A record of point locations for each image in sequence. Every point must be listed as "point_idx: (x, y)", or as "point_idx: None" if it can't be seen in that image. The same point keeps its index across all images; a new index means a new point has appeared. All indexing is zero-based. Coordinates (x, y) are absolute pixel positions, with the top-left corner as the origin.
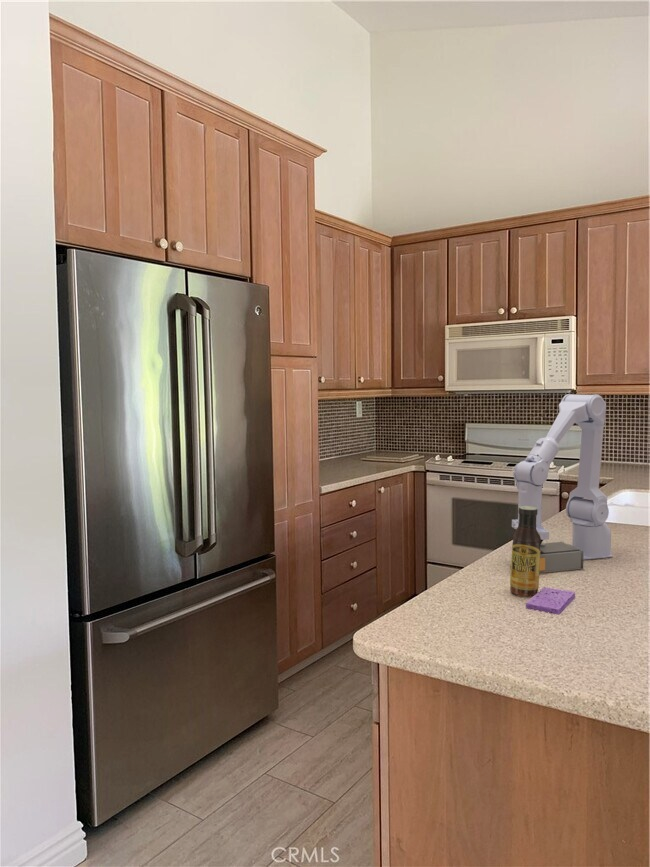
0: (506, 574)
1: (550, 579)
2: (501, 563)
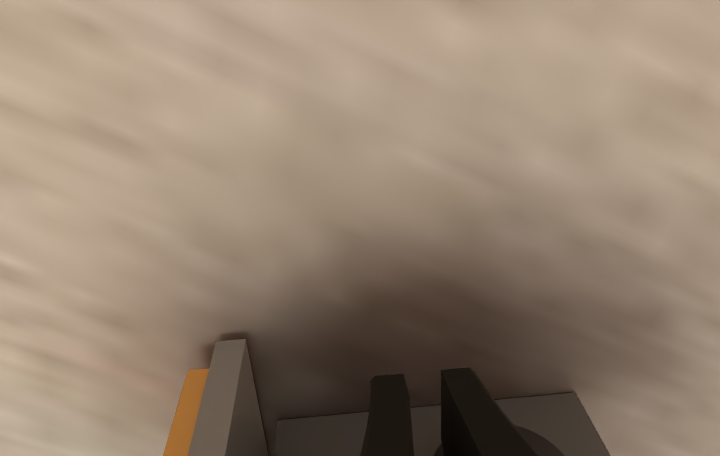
0: (264, 26)
1: (42, 386)
2: (696, 162)
